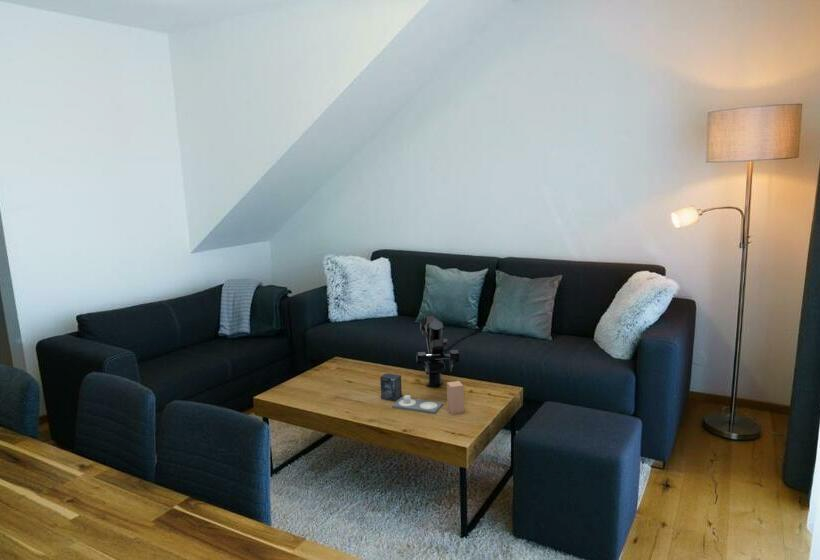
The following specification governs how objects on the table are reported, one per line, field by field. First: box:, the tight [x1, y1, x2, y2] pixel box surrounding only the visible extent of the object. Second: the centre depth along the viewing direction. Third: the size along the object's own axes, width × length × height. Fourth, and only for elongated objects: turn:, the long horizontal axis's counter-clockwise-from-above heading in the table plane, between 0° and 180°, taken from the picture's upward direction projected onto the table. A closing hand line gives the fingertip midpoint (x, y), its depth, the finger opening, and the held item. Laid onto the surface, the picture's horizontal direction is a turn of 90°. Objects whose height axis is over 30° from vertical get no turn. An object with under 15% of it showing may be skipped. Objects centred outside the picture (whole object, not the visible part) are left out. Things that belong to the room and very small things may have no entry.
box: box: [379, 372, 403, 402], centre depth 262 cm, size 8×6×11 cm
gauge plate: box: [391, 394, 444, 415], centre depth 252 cm, size 10×20×4 cm, turn 67°
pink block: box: [446, 380, 465, 415], centre depth 246 cm, size 6×6×12 cm
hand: (440, 372), depth 250 cm, fingers open, 9 cm apart
